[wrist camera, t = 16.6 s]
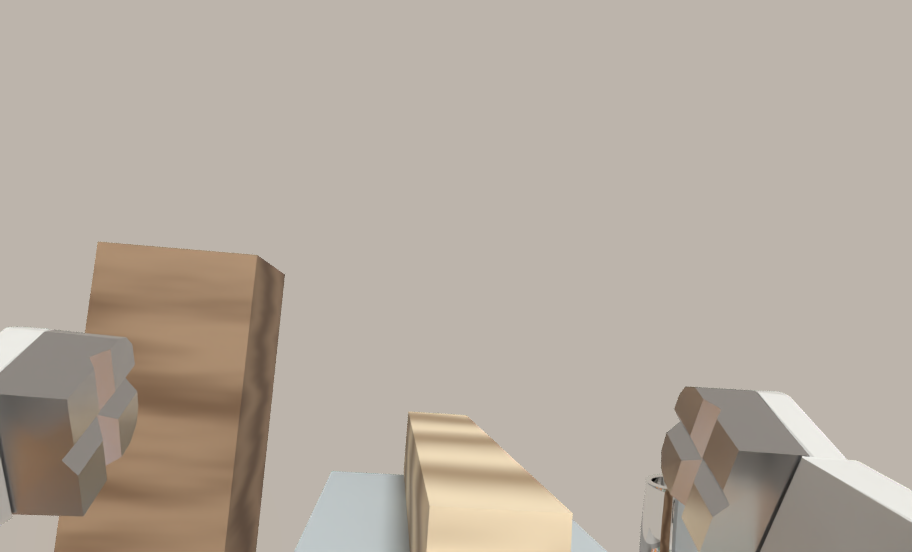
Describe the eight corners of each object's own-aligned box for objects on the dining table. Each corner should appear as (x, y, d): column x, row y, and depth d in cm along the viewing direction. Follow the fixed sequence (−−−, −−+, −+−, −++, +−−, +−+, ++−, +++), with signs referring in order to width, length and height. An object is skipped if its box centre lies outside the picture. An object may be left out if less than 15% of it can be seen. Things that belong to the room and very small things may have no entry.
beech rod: (565, 666, 13) (572, 513, 13) (418, 661, 13) (429, 506, 13) (462, 474, 33) (466, 415, 33) (403, 471, 33) (408, 411, 33)
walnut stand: (197, 793, 30) (257, 255, 34) (20, 792, 30) (97, 241, 33) (240, 693, 39) (284, 274, 42) (105, 690, 39) (160, 264, 42)
